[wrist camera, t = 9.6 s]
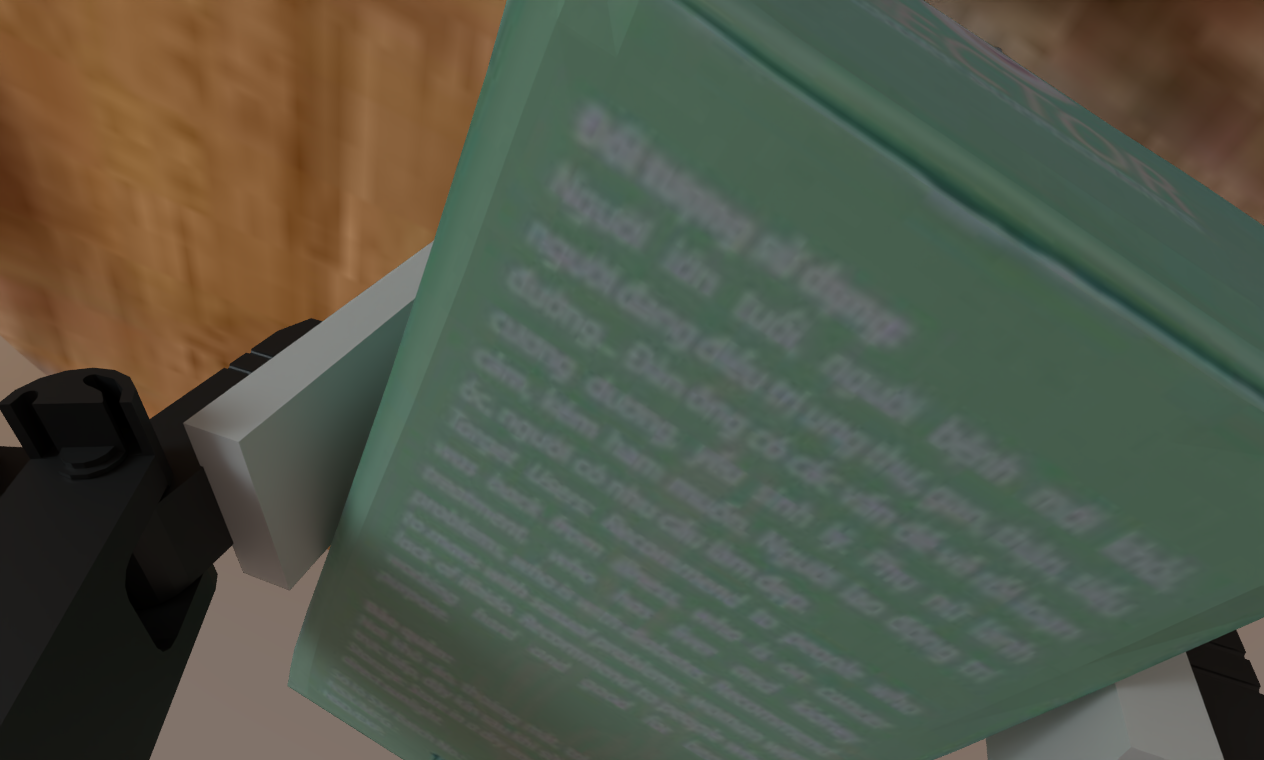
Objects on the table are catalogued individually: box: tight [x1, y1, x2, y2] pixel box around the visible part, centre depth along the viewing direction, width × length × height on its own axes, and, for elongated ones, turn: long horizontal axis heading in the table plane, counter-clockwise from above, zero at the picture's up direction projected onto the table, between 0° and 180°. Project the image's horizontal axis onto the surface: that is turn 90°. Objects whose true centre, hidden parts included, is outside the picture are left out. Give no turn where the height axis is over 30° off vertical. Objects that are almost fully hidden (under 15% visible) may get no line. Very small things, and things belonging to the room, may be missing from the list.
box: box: [288, 0, 1264, 760], centre depth 11 cm, size 7×14×8 cm, turn 153°
